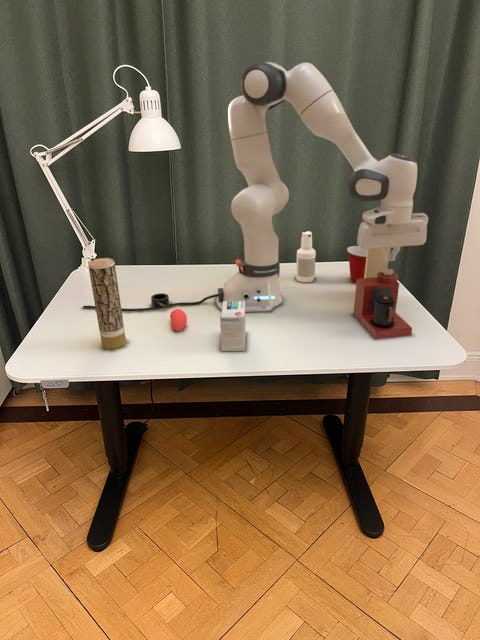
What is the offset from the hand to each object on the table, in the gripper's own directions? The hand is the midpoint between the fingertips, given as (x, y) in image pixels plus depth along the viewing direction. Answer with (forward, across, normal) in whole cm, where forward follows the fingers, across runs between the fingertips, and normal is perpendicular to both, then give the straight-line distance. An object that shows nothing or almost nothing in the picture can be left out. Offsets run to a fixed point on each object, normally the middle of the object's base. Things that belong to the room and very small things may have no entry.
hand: (388, 260), depth 144 cm
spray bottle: (+19, +14, -35) cm, 43 cm away
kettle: (+16, +4, +9) cm, 19 cm away
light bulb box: (+19, +48, +7) cm, 52 cm away
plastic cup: (+19, -5, -29) cm, 35 cm away
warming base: (+18, +3, +8) cm, 20 cm away
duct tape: (+18, +68, -24) cm, 75 cm away
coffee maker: (+18, +3, 0) cm, 19 cm away
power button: (+5, 0, 0) cm, 5 cm away
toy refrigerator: (+19, -4, -14) cm, 24 cm away
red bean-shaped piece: (+19, +63, -7) cm, 66 cm away
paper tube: (+20, +82, +1) cm, 84 cm away
